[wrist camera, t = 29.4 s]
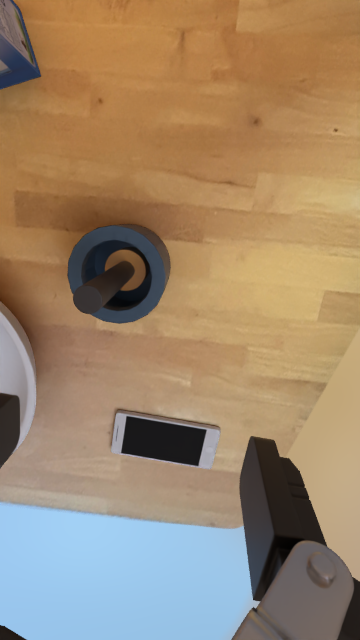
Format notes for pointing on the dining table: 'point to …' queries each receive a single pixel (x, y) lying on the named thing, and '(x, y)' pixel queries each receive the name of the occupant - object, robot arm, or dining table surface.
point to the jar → (91, 263)
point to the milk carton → (15, 47)
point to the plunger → (112, 279)
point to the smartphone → (164, 439)
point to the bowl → (17, 368)
